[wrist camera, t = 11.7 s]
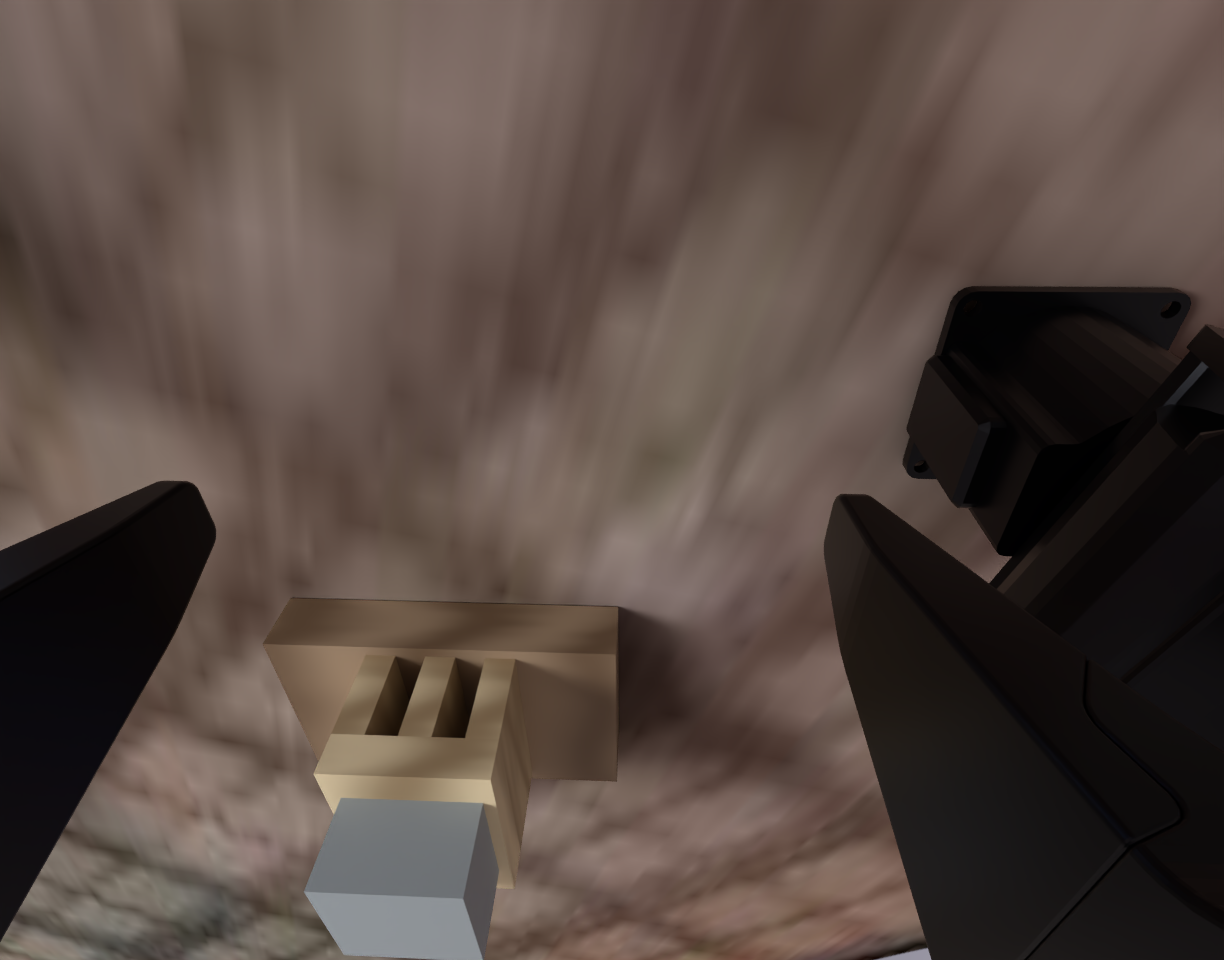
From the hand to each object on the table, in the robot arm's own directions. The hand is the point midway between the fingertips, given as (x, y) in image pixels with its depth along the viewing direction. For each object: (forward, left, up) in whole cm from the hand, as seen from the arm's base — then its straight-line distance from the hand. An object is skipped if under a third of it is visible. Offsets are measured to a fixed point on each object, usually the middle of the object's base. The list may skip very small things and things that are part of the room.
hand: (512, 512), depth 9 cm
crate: (+6, +19, -4) cm, 20 cm away
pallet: (+6, +19, -10) cm, 22 cm away
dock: (+6, +19, -12) cm, 23 cm away
